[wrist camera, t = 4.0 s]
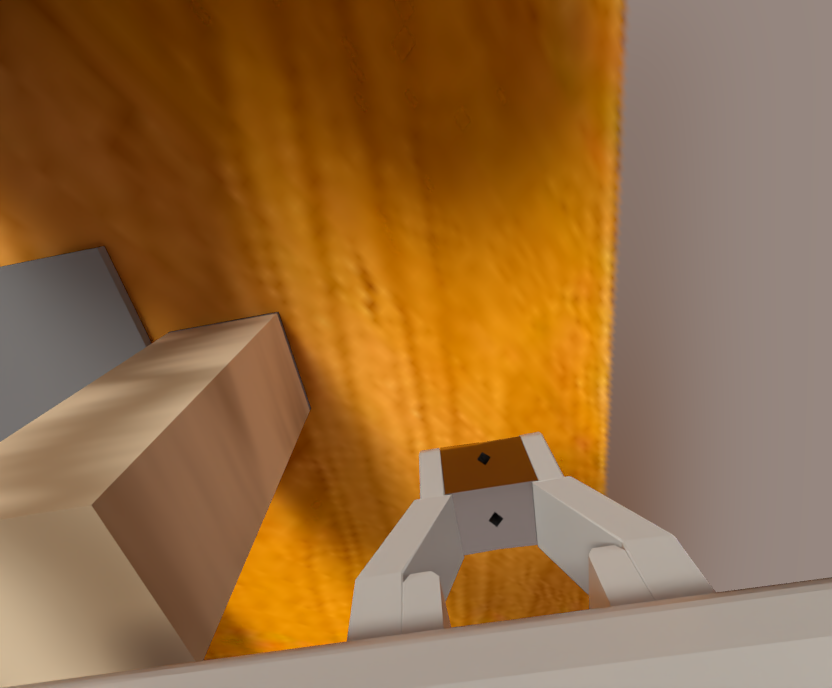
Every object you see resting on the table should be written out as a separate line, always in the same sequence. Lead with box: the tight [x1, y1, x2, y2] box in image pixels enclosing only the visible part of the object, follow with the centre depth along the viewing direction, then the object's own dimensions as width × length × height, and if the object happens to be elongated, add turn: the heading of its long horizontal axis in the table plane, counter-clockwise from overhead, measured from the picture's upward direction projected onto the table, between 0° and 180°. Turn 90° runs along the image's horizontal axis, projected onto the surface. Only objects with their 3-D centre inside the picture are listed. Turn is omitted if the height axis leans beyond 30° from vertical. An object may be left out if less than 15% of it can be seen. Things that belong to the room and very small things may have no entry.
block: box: [0, 312, 311, 688], centre depth 13 cm, size 5×5×11 cm
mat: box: [0, 246, 152, 442], centre depth 19 cm, size 13×13×1 cm
